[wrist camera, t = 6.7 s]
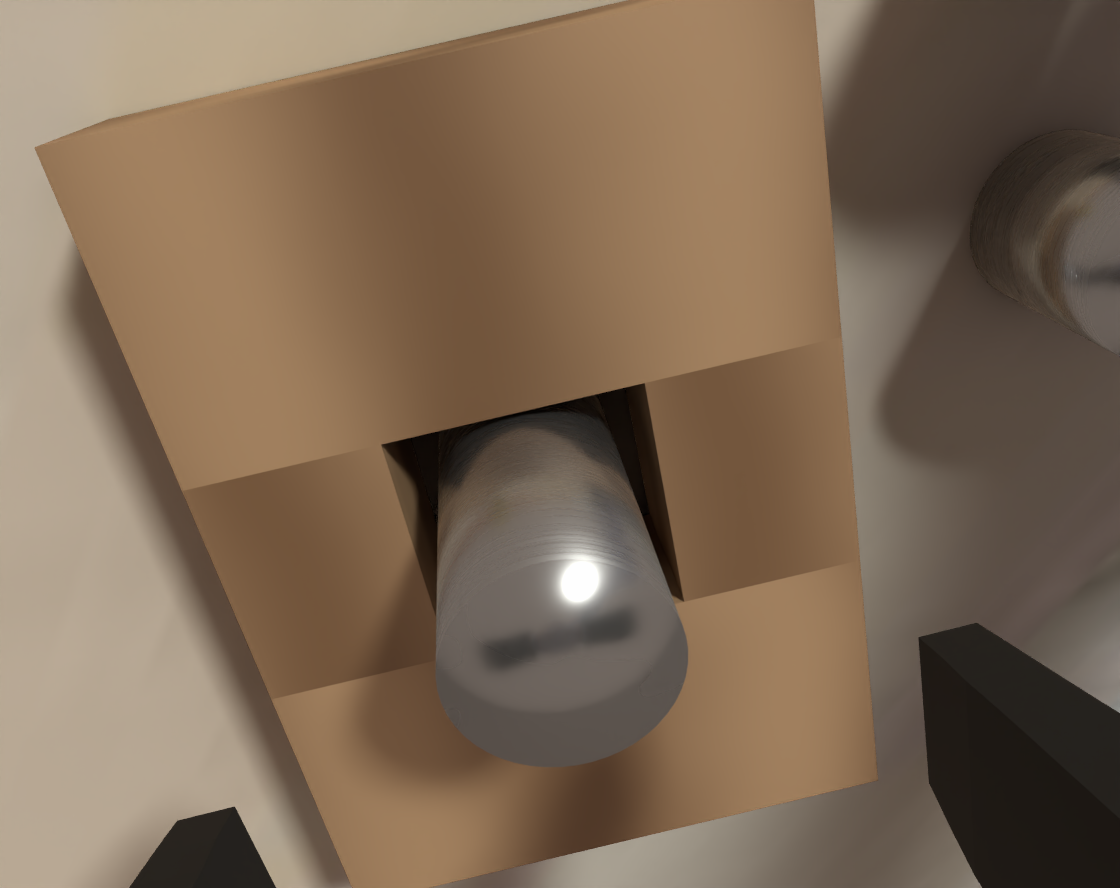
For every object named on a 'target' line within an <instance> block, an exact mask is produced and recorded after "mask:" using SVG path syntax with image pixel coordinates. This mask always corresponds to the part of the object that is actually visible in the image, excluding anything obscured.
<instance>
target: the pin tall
mask: <svg viewBox="0 0 1120 888" xmlns="http://www.w3.org/2000/svg"><path fill="white" fill-rule="evenodd" d="M687 667H688V645H687V638H686V634H685V631H684V628H683V625H682V622H681V620H680V617H679V614H678V612H677V609H676V606H675V603H674V601H673V598H672V595H671V593H670V590H669V587H668V585H667V582H666V579H665V576H664V574H663V571H662V568H661V566H660V563H659V560H658V558H657V555H656V552H655V549H654V547H653V544H652V541H651V539H650V536H649V533H648V531H647V528H646V525H645V522H644V520H643V517H642V514H641V512H640V509H639V506H638V504H637V501H636V498H635V496H634V493H633V490H632V487H631V485H630V482H629V479H628V477H627V474H626V471H625V469H624V466H623V463H622V460H621V458H620V455H619V452H618V450H617V447H616V444H615V442H614V439H613V436H612V433H611V431H610V428H609V425H608V423H607V420H606V417H605V415H604V412H603V409H602V406H601V404H600V401H599V398H598V396H597V394H595V395H591V396H587V397H583V398H578V399H574V400H570V401H565V402H561V403H557V404H553V405H548V406H544V407H540V408H535V409H531V410H527V411H523V412H518V413H514V414H510V415H506V416H501V417H497V418H493V419H488V420H484V421H480V422H476V423H471V424H467V425H463V426H458V427H454V428H450V429H446V430H441V431H439V469H438V538H437V607H436V676H435V677H436V685H437V691H438V694H439V698H440V701H441V704H442V706H443V708H444V710H445V712H446V714H447V716H448V717H449V719H450V720H451V722H452V723H453V724H454V726H455V727H456V728H457V729H458V730H459V731H460V732H461V733H462V734H463V735H464V736H465V737H466V738H467V739H468V740H470V741H471V742H472V743H473V744H475V745H476V746H478V747H479V748H481V749H483V750H484V751H486V752H488V753H490V754H492V755H494V756H497V757H499V758H501V759H504V760H507V761H511V762H514V763H518V764H523V765H528V766H537V767H566V766H575V765H580V764H585V763H590V762H594V761H597V760H600V759H603V758H606V757H609V756H611V755H613V754H615V753H618V752H620V751H622V750H624V749H626V748H627V747H629V746H631V745H633V744H634V743H636V742H637V741H639V740H640V739H641V738H643V737H644V736H646V735H647V734H648V733H649V732H650V731H651V730H653V729H654V728H655V727H656V726H657V725H658V724H659V723H660V722H661V721H662V719H663V718H664V717H665V716H666V715H667V714H668V712H669V711H670V709H671V708H672V706H673V705H674V703H675V702H676V700H677V698H678V696H679V694H680V692H681V690H682V687H683V684H684V681H685V678H686V673H687Z"/></svg>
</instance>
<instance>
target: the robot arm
mask: <svg viewBox="0 0 1120 888" xmlns="http://www.w3.org/2000/svg"><path fill="white" fill-rule="evenodd" d="M919 650H920V664H921V678H922V692H923V706H924V720H925V733H926V747H927V761H928V775H929V784H930V786H931V788H932V790H933V792H934V794H935V796H936V798H937V800H938V802H939V805H940V807H941V809H942V811H943V813H944V815H945V817H946V819H947V821H948V823H949V825H950V827H951V829H952V831H953V834H954V836H955V838H956V839H957V841H958V843H959V845H960V847H961V849H962V851H963V853H964V855H965V857H966V859H967V861H968V863H969V865H970V867H971V869H972V871H973V873H974V875H975V877H976V878H977V880H978V882H979V883H980V885H981V886H982V888H1120V713H1119V712H1117V711H1115V710H1114V709H1112V708H1110V707H1109V706H1107V705H1106V704H1104V703H1102V702H1101V701H1099V700H1098V699H1096V698H1094V697H1093V696H1091V695H1090V694H1088V693H1086V692H1085V691H1083V690H1082V689H1080V688H1079V687H1077V686H1075V685H1074V684H1072V683H1071V682H1069V681H1067V680H1066V679H1064V678H1063V677H1061V676H1060V675H1058V674H1056V673H1055V672H1053V671H1052V670H1050V669H1049V668H1047V667H1045V666H1044V665H1042V664H1041V663H1039V662H1038V661H1036V660H1034V659H1033V658H1031V657H1030V656H1028V655H1027V654H1025V653H1023V652H1022V651H1020V650H1019V649H1017V648H1016V647H1014V646H1012V645H1011V644H1009V643H1008V642H1006V641H1005V640H1003V639H1001V638H1000V637H998V636H997V635H995V634H993V633H992V632H990V631H989V630H987V629H986V628H984V627H982V626H981V625H979V624H978V623H974V624H970V625H966V626H962V627H958V628H954V629H950V630H946V631H942V632H938V633H934V634H930V635H926V636H922V637H919ZM129 888H276V887H275V885H274V883H273V881H272V879H271V877H270V875H269V873H268V871H267V869H266V867H265V865H264V863H263V861H262V859H261V857H260V855H259V853H258V851H257V850H256V848H255V846H254V844H253V842H252V840H251V838H250V836H249V834H248V832H247V830H246V828H245V826H244V824H243V822H242V820H241V818H240V816H239V814H238V812H237V810H236V808H235V807H231V808H227V809H223V810H219V811H215V812H211V813H207V814H203V815H199V816H195V817H191V818H187V819H183V820H179V821H177V822H176V823H175V825H174V826H173V827H172V829H171V830H170V831H169V833H168V834H167V835H166V837H165V838H164V839H163V841H162V842H161V843H160V845H159V846H158V848H157V849H156V850H155V852H154V853H153V855H152V856H151V857H150V859H149V860H148V862H147V863H146V865H145V866H144V867H143V869H142V870H141V872H140V873H139V875H138V876H137V877H136V879H135V880H134V882H133V883H132V885H131V886H130V887H129Z"/></svg>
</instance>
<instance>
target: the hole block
mask: <svg viewBox="0 0 1120 888" xmlns="http://www.w3.org/2000/svg"><path fill="white" fill-rule="evenodd" d="M35 150H36V152H37V155H38V157H39V159H40V162H41V164H42V166H43V169H44V171H45V173H46V176H47V178H48V180H49V183H50V185H51V187H52V190H53V192H54V194H55V197H56V199H57V201H58V204H59V206H60V208H61V210H62V213H63V215H64V217H65V220H66V222H67V224H68V227H69V229H70V231H71V234H72V236H73V238H74V241H75V243H76V245H77V248H78V250H79V252H80V255H81V257H82V259H83V262H84V264H85V266H86V269H87V271H88V273H89V276H90V278H91V280H92V283H93V285H94V287H95V290H96V292H97V294H98V297H99V299H100V301H101V304H102V306H103V308H104V311H105V313H106V315H107V318H108V320H109V322H110V325H111V327H112V329H113V332H114V334H115V336H116V339H117V341H118V343H119V346H120V348H121V350H122V353H123V355H124V357H125V360H126V362H127V364H128V367H129V369H130V371H131V374H132V376H133V378H134V381H135V383H136V385H137V388H138V390H139V392H140V395H141V397H142V399H143V402H144V404H145V406H146V409H147V411H148V413H149V416H150V418H151V420H152V423H153V425H154V427H155V430H156V432H157V434H158V437H159V439H160V441H161V444H162V446H163V448H164V451H165V453H166V455H167V458H168V460H169V462H170V465H171V467H172V469H173V472H174V474H175V476H176V479H177V481H178V483H179V486H180V488H181V490H182V493H183V495H184V497H185V500H186V502H187V504H188V507H189V509H190V511H191V514H192V516H193V518H194V521H195V523H196V525H197V528H198V530H199V532H200V535H201V537H202V539H203V542H204V544H205V546H206V548H207V551H208V553H209V555H210V558H211V560H212V562H213V565H214V567H215V569H216V572H217V574H218V576H219V579H220V581H221V583H222V586H223V588H224V590H225V593H226V595H227V597H228V600H229V602H230V604H231V607H232V609H233V611H234V614H235V616H236V618H237V621H238V623H239V625H240V628H241V630H242V632H243V635H244V637H245V639H246V642H247V644H248V646H249V649H250V651H251V653H252V656H253V658H254V660H255V663H256V665H257V667H258V670H259V672H260V674H261V677H262V679H263V681H264V684H265V686H266V688H267V691H268V693H269V695H270V698H271V700H272V702H273V705H274V707H275V709H276V712H277V714H278V716H279V719H280V721H281V723H282V726H283V728H284V730H285V733H286V735H287V737H288V740H289V742H290V744H291V747H292V749H293V751H294V754H295V756H296V758H297V761H298V763H299V765H300V768H301V770H302V772H303V775H304V777H305V779H306V782H307V784H308V786H309V789H310V791H311V793H312V796H313V798H314V800H315V803H316V805H317V807H318V810H319V812H320V814H321V817H322V819H323V821H324V824H325V826H326V828H327V831H328V833H329V835H330V838H331V840H332V842H333V845H334V847H335V849H336V852H337V854H338V856H339V859H340V861H341V863H342V866H343V868H344V870H345V873H346V875H347V877H348V879H349V882H350V884H351V886H352V888H430V887H434V886H438V885H442V884H447V883H451V882H455V881H459V880H463V879H467V878H472V877H476V876H480V875H484V874H488V873H493V872H497V871H501V870H505V869H509V868H513V867H518V866H522V865H526V864H530V863H534V862H539V861H543V860H547V859H551V858H555V857H559V856H564V855H568V854H572V853H576V852H580V851H585V850H589V849H593V848H597V847H601V846H606V845H610V844H614V843H618V842H622V841H626V840H631V839H635V838H639V837H643V836H647V835H652V834H656V833H660V832H664V831H668V830H672V829H677V828H681V827H685V826H689V825H693V824H698V823H702V822H706V821H710V820H714V819H718V818H723V817H727V816H731V815H735V814H739V813H744V812H748V811H752V810H756V809H760V808H764V807H769V806H773V805H777V804H781V803H785V802H790V801H794V800H798V799H802V798H806V797H810V796H815V795H819V794H823V793H827V792H831V791H836V790H840V789H844V788H848V787H852V786H857V785H861V784H865V783H869V782H873V781H877V780H878V774H877V762H876V750H875V738H874V726H873V713H872V701H871V689H870V677H869V665H868V653H867V640H866V628H865V616H864V604H863V592H862V579H861V567H860V555H859V543H858V531H857V518H856V506H855V494H854V482H853V470H852V457H851V445H850V433H849V421H848V409H847V397H846V384H845V372H844V360H843V348H842V336H841V323H840V311H839V299H838V287H837V275H836V262H835V250H834V238H833V226H832V214H831V202H830V189H829V177H828V165H827V153H826V141H825V128H824V116H823V104H822V92H821V80H820V67H819V55H818V43H817V31H816V19H815V6H814V0H627V1H623V2H619V3H614V4H610V5H606V6H601V7H597V8H592V9H588V10H584V11H579V12H575V13H571V14H566V15H562V16H558V17H553V18H549V19H544V20H540V21H536V22H531V23H527V24H523V25H518V26H514V27H509V28H505V29H501V30H496V31H492V32H488V33H483V34H479V35H475V36H470V37H466V38H461V39H457V40H453V41H448V42H444V43H440V44H435V45H431V46H426V47H422V48H418V49H413V50H409V51H405V52H400V53H396V54H392V55H387V56H383V57H378V58H374V59H370V60H365V61H361V62H357V63H352V64H348V65H343V66H339V67H335V68H330V69H326V70H322V71H317V72H313V73H309V74H304V75H300V76H295V77H291V78H287V79H282V80H278V81H274V82H269V83H265V84H260V85H256V86H252V87H247V88H243V89H239V90H234V91H230V92H226V93H221V94H217V95H212V96H208V97H204V98H199V99H195V100H191V101H186V102H182V103H178V104H173V105H169V106H164V107H160V108H156V109H151V110H147V111H143V112H138V113H134V114H129V115H125V116H121V117H116V118H112V119H108V120H105V121H103V122H100V123H98V124H95V125H92V126H90V127H87V128H84V129H82V130H79V131H77V132H74V133H71V134H69V135H66V136H63V137H61V138H58V139H56V140H53V141H50V142H48V143H45V144H42V145H40V146H37V147H35ZM621 388H626V393H627V398H628V403H629V409H630V414H631V419H632V425H633V430H634V435H635V440H636V446H637V451H638V456H639V461H640V467H641V472H642V477H643V482H644V488H645V493H646V498H647V504H648V509H649V515H645V516H642V517H643V520H644V522H645V525H646V528H647V531H648V533H649V536H650V539H651V541H652V544H653V547H654V549H655V552H656V555H657V558H658V560H659V563H660V566H661V568H662V571H663V574H664V576H665V579H666V582H667V585H668V587H669V590H670V593H671V595H672V598H673V601H674V603H675V606H676V609H677V612H678V614H679V617H680V620H681V622H682V625H683V628H684V631H685V634H686V638H687V645H688V667H687V673H686V678H685V681H684V684H683V687H682V690H681V692H680V694H679V696H678V698H677V700H676V702H675V703H674V705H673V706H672V708H671V709H670V711H669V712H668V714H667V715H666V716H665V717H664V718H663V719H662V721H661V722H660V723H659V724H658V725H657V726H656V727H655V728H654V729H653V730H651V731H650V732H649V733H648V734H647V735H646V736H644V737H643V738H641V739H640V740H639V741H637V742H636V743H634V744H633V745H631V746H629V747H627V748H626V749H624V750H622V751H620V752H618V753H615V754H613V755H611V756H609V757H606V758H603V759H600V760H597V761H594V762H590V763H585V764H580V765H575V766H566V767H537V766H528V765H523V764H518V763H514V762H511V761H507V760H504V759H501V758H499V757H497V756H494V755H492V754H490V753H488V752H486V751H484V750H483V749H481V748H479V747H478V746H476V745H475V744H473V743H472V742H471V741H470V740H468V739H467V738H466V737H465V736H464V735H463V734H462V733H461V732H460V731H459V730H458V729H457V728H456V727H455V726H454V724H453V723H452V722H451V720H450V719H449V717H448V716H447V714H446V712H445V710H444V708H443V706H442V704H441V701H440V698H439V694H438V691H437V685H436V677H435V676H436V607H437V538H438V527H437V524H436V521H435V518H434V514H433V511H432V508H431V504H430V501H429V498H428V494H427V491H426V488H425V485H424V481H423V478H422V475H421V471H420V468H419V465H418V461H417V458H416V455H415V452H414V448H413V445H412V442H411V437H416V436H420V435H424V434H428V433H433V432H437V431H441V430H446V429H450V428H454V427H458V426H463V425H467V424H471V423H476V422H480V421H484V420H488V419H493V418H497V417H501V416H506V415H510V414H514V413H518V412H523V411H527V410H531V409H535V408H540V407H544V406H548V405H553V404H557V403H561V402H565V401H570V400H574V399H578V398H583V397H587V396H591V395H595V394H600V393H604V392H608V391H613V390H617V389H621Z"/></svg>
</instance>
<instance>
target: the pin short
mask: <svg viewBox="0 0 1120 888" xmlns="http://www.w3.org/2000/svg"><path fill="white" fill-rule="evenodd" d="M970 243H971V250H972V255H973V258H974V261H975V263H976V266H977V268H978V270H979V271H980V273H981V275H982V276H983V277H984V279H985V280H986V281H987V282H988V283H989V284H990V285H991V286H992V287H994V288H995V289H996V290H998V291H1000V292H1001V293H1003V294H1005V295H1007V296H1008V297H1010V298H1012V299H1014V300H1016V301H1018V302H1020V303H1021V304H1023V305H1025V306H1027V307H1029V308H1031V309H1033V310H1034V311H1036V312H1038V313H1040V314H1042V315H1044V316H1046V317H1048V318H1049V319H1051V320H1053V321H1055V322H1057V323H1059V324H1061V325H1062V326H1064V327H1066V328H1068V329H1070V330H1072V331H1074V332H1075V333H1077V334H1079V335H1081V336H1083V337H1085V338H1087V339H1088V340H1090V341H1092V342H1094V343H1096V344H1098V345H1100V346H1101V347H1103V348H1105V349H1107V350H1109V351H1111V352H1113V353H1114V354H1116V355H1118V356H1120V138H1116V137H1111V136H1107V135H1102V134H1097V133H1093V132H1088V131H1082V130H1062V131H1055V132H1051V133H1048V134H1045V135H1042V136H1039V137H1037V138H1035V139H1033V140H1031V141H1029V142H1027V143H1025V144H1024V145H1022V146H1020V147H1019V148H1018V149H1016V150H1015V151H1014V152H1012V153H1011V154H1010V155H1009V156H1008V157H1007V158H1006V159H1005V160H1003V161H1002V162H1001V164H1000V165H999V166H998V167H997V168H996V169H995V170H994V172H993V173H992V174H991V176H990V177H989V179H988V180H987V182H986V183H985V185H984V187H983V189H982V191H981V192H980V195H979V197H978V199H977V202H976V204H975V208H974V211H973V215H972V220H971V226H970Z"/></svg>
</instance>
